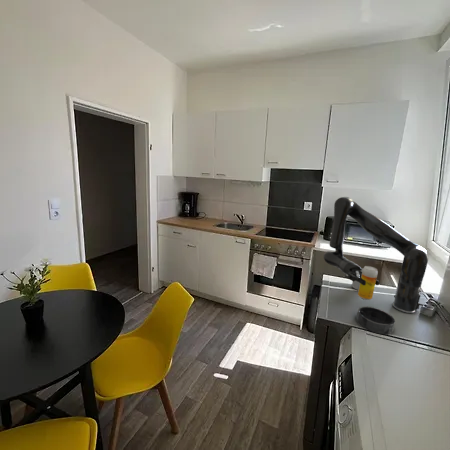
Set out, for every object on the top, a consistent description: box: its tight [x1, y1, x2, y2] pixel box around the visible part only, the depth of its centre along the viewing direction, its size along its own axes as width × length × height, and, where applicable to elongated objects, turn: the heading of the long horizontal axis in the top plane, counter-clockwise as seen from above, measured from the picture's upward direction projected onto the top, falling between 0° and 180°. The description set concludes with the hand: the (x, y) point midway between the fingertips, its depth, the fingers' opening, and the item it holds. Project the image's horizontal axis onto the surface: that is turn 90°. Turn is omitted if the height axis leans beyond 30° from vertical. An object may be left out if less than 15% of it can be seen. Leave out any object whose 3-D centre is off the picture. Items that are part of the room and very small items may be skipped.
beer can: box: [357, 265, 379, 301], centre depth 116 cm, size 6×6×15 cm
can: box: [351, 267, 363, 291], centre depth 146 cm, size 8×8×12 cm
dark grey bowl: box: [355, 306, 396, 335], centre depth 112 cm, size 15×15×4 cm
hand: (371, 283), depth 113 cm, fingers closed on beer can, 6 cm apart
